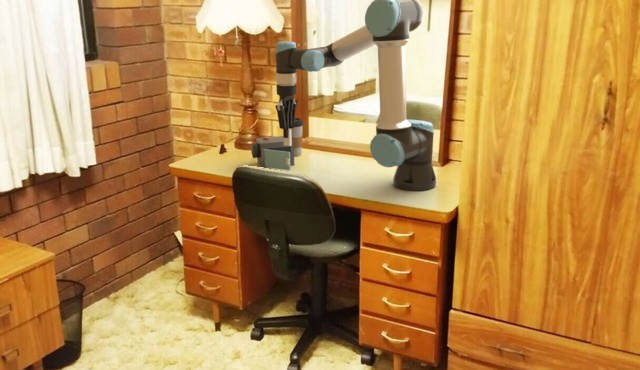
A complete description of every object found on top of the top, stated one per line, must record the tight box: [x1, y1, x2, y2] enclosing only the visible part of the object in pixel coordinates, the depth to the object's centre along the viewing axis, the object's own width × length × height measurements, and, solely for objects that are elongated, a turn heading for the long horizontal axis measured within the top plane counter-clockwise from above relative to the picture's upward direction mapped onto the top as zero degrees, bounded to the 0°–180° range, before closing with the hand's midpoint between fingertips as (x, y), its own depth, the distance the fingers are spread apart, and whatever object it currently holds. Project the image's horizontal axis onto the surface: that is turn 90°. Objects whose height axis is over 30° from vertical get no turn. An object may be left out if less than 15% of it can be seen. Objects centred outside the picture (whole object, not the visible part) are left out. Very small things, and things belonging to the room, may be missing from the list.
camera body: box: [250, 135, 295, 169], centre depth 248 cm, size 9×16×11 cm, turn 108°
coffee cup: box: [291, 117, 304, 158], centre depth 261 cm, size 8×8×15 cm
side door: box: [262, 148, 292, 171], centre depth 240 cm, size 12×2×7 cm, turn 63°
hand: (287, 145), depth 241 cm, fingers closed
